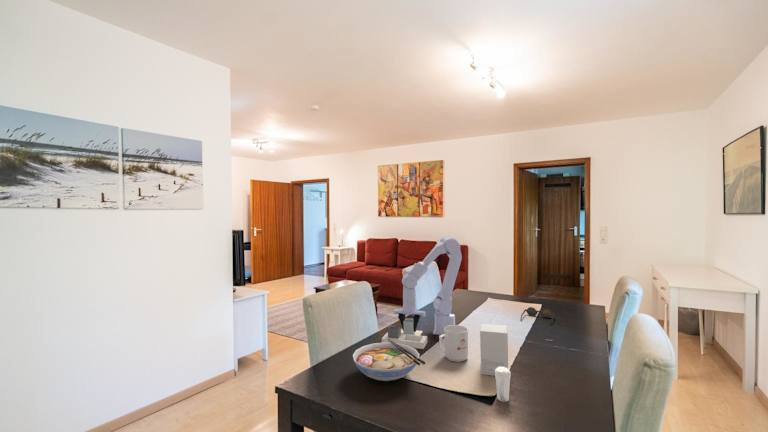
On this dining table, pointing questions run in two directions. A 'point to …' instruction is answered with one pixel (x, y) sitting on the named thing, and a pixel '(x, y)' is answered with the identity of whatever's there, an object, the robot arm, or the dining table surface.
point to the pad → (415, 332)
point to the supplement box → (493, 348)
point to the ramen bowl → (386, 360)
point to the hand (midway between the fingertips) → (409, 330)
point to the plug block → (408, 326)
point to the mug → (455, 343)
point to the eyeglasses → (544, 313)
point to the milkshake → (502, 383)
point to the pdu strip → (404, 338)
